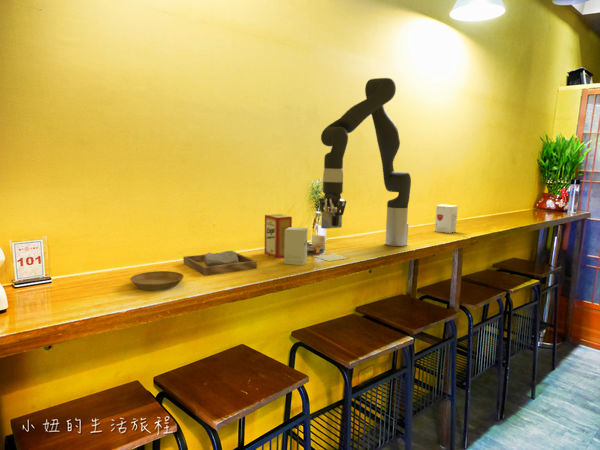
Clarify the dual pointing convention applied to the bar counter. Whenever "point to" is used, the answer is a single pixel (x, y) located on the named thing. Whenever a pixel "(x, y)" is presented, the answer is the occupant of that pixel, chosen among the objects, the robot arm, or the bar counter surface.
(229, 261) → the stone block
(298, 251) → the supplement box
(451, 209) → the supplement box
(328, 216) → the grey rectangular block
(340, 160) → the robot arm
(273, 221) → the baking soda box
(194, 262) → the wooden tray
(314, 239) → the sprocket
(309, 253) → the sprocket base
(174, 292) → the bar counter surface
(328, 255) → the seat tile
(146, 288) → the plant saucer
